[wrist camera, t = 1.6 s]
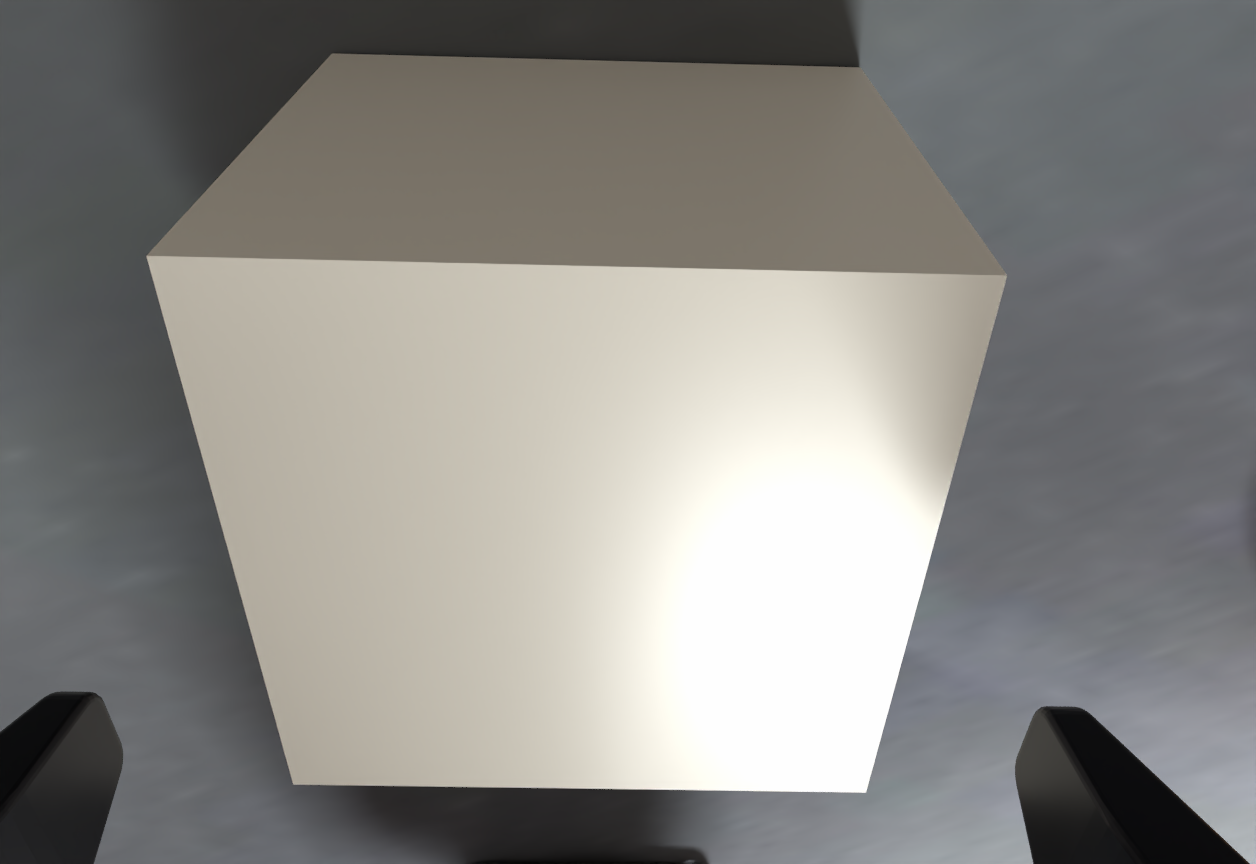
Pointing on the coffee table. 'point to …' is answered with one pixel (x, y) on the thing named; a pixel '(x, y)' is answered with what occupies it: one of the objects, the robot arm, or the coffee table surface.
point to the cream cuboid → (579, 416)
